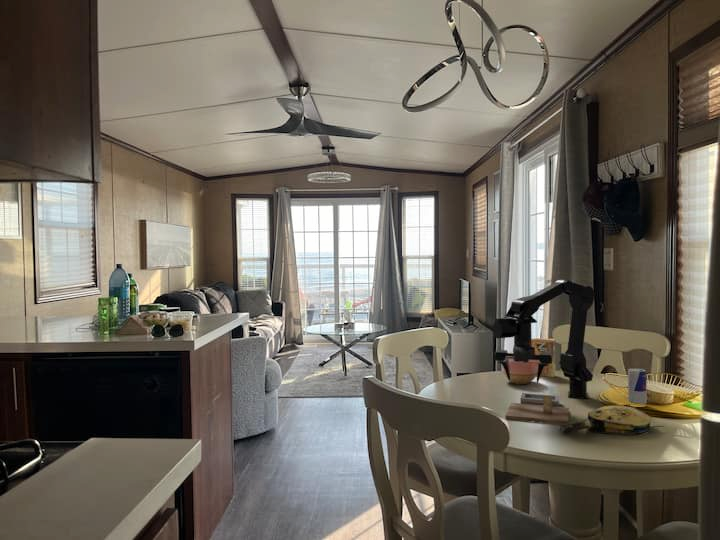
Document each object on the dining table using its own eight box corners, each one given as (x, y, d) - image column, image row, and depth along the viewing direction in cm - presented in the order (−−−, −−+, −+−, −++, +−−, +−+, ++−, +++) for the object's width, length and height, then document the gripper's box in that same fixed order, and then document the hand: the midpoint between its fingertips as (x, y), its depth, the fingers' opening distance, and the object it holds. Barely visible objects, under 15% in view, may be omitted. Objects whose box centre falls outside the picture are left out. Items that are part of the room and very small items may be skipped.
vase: (513, 376, 209) (513, 334, 208) (544, 382, 198) (544, 338, 198) (495, 382, 199) (494, 338, 199) (527, 389, 189) (526, 342, 189)
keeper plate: (510, 406, 168) (510, 387, 168) (568, 411, 161) (568, 392, 161) (505, 419, 156) (505, 399, 155) (568, 425, 149) (568, 404, 148)
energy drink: (649, 408, 163) (648, 371, 163) (631, 407, 164) (631, 371, 164) (643, 403, 168) (643, 368, 168) (625, 403, 169) (625, 367, 169)
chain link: (520, 405, 169) (520, 398, 169) (522, 400, 175) (522, 392, 175) (558, 409, 164) (558, 401, 164) (559, 403, 170) (559, 395, 170)
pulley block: (547, 405, 147) (632, 396, 155) (545, 424, 148) (630, 414, 156) (579, 428, 134) (670, 417, 141) (577, 448, 135) (667, 436, 142)
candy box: (555, 375, 209) (555, 338, 209) (553, 377, 206) (553, 340, 205) (533, 373, 214) (533, 337, 213) (531, 375, 210) (531, 339, 209)
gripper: (491, 339, 167) (492, 385, 168) (550, 341, 160) (551, 389, 160) (495, 333, 178) (496, 377, 178) (552, 336, 170) (552, 381, 171)
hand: (523, 381), depth 171 cm, fingers open, 9 cm apart
